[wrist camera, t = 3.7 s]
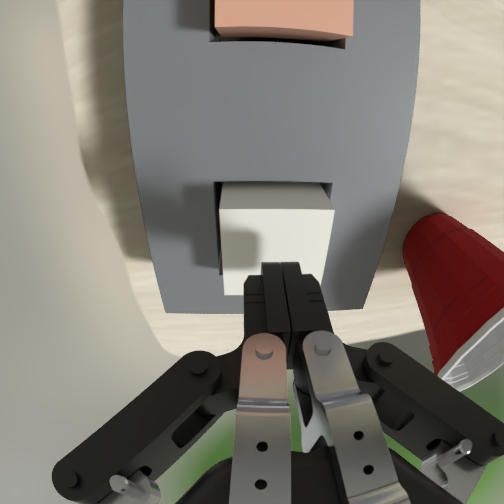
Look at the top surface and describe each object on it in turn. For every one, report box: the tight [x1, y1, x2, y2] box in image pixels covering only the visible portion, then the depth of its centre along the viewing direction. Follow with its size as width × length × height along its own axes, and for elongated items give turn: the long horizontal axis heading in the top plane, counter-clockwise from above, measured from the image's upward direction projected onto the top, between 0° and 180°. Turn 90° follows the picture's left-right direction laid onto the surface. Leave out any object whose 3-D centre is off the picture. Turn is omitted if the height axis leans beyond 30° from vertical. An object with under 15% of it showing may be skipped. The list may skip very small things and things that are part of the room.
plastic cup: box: [403, 213, 504, 392], centre depth 17 cm, size 11×11×12 cm
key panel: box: [123, 0, 420, 314], centre depth 14 cm, size 13×24×5 cm, turn 179°
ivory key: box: [219, 181, 335, 295], centre depth 15 cm, size 5×5×4 cm
